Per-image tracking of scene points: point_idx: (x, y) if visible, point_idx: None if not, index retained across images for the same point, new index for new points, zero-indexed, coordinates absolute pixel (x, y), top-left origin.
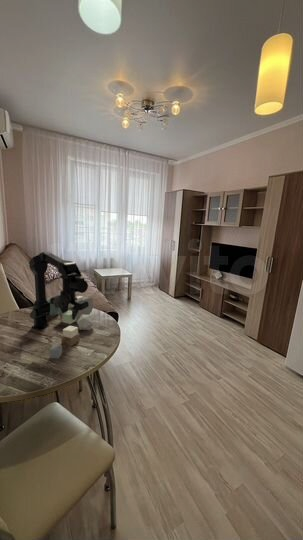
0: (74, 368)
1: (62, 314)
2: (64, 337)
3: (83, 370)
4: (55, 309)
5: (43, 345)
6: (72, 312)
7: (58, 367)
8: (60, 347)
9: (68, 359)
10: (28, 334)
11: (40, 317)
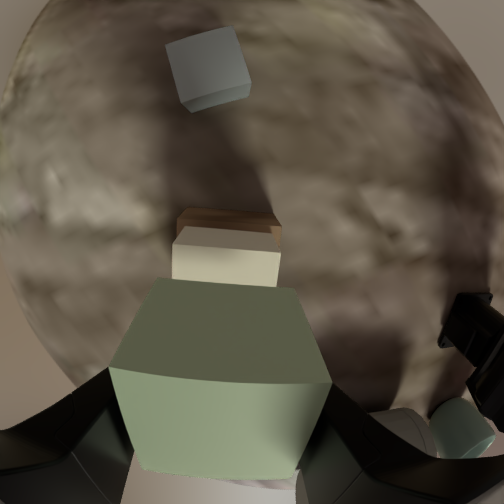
0: (60, 49)
1: (325, 366)
2: (249, 222)
3: (25, 64)
4: (447, 428)
5: (365, 153)
6: (73, 428)
7: (132, 13)
8: (174, 76)
9: (118, 81)
10: (482, 235)
11: (495, 339)
